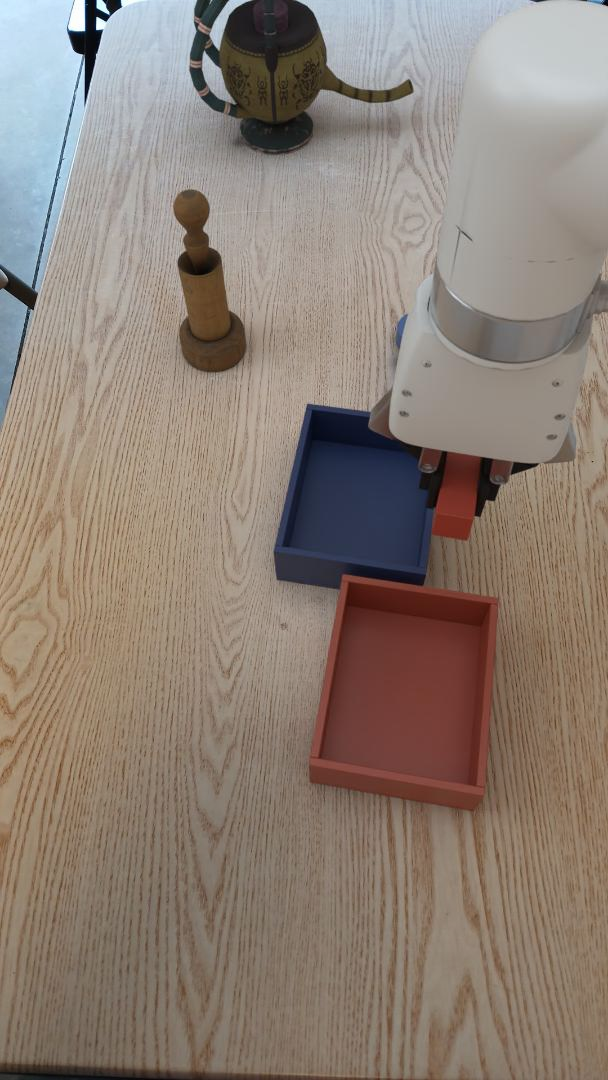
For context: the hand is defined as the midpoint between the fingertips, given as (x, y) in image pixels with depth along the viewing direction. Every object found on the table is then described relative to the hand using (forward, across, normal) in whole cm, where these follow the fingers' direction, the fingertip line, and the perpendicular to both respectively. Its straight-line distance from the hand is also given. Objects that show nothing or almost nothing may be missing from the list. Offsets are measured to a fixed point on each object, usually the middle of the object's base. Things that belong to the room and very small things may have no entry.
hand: (455, 493), depth 57 cm
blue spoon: (+15, +5, -24) cm, 29 cm away
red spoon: (0, 0, -2) cm, 2 cm away
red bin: (+15, +1, +10) cm, 18 cm away
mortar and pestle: (+15, +25, -23) cm, 37 cm away
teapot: (+15, +23, -59) cm, 65 cm away
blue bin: (+15, +7, -6) cm, 18 cm away
